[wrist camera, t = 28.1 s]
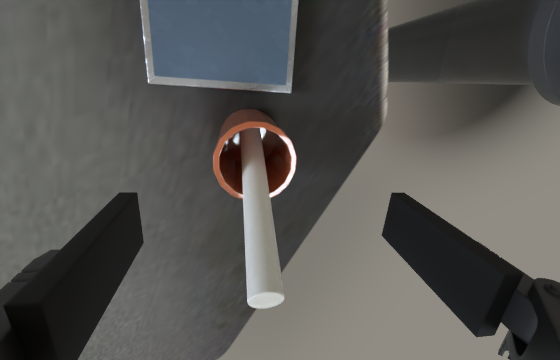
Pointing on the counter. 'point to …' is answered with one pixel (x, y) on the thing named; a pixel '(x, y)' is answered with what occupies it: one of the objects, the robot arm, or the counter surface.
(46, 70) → the counter surface
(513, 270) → the robot arm
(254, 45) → the tablet
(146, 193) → the counter surface
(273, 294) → the stylus
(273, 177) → the pen pot
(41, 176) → the counter surface
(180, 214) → the counter surface
